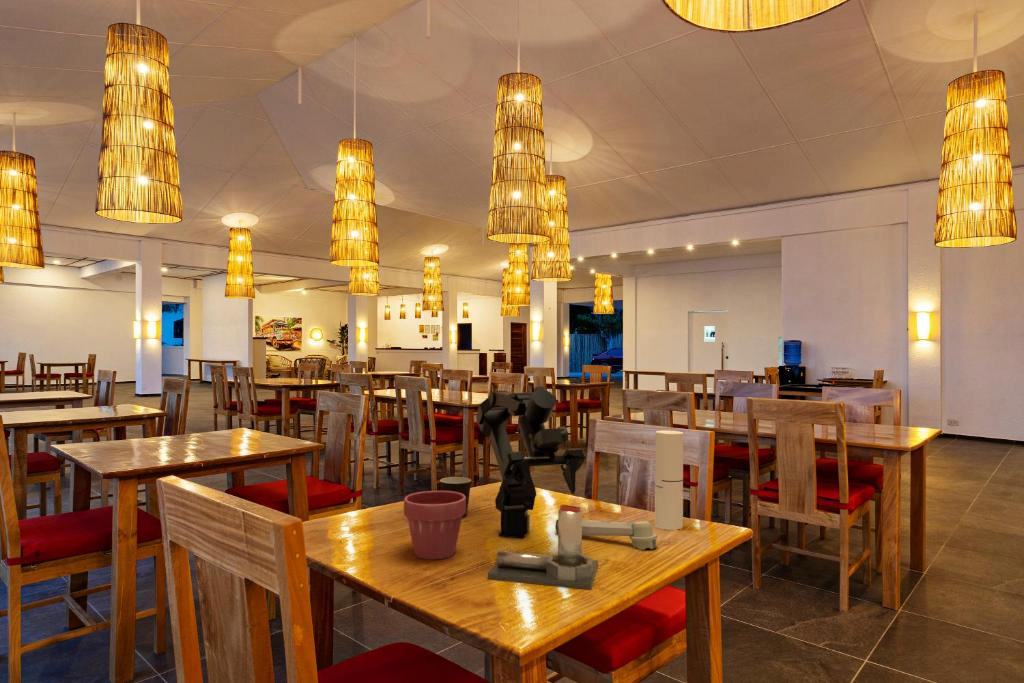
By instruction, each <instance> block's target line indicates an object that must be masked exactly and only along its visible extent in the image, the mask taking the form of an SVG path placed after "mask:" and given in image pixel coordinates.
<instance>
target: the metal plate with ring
mask: <svg viewBox="0 0 1024 683" xmlns="http://www.w3.org/2000/svg"><path fill="white" fill-rule="evenodd" d="M557 561H558V553H554V554H543V553H542V554H539V553H528V552H518V551H516V552H515V551H509V550H508V551H507V550H498V552H497V556H496V562H495V563H494V565H492V566H491V568H490V569H489V571H487V579H488V580H495V581H496V580H497V581H503V582H513V581H514V583H522V582H523V583H522V584H532V583H533V585H541V584H544V585H543V586H552V587H562V588H571V589H572V588H573V589H578V590H579V589H582V590H592V587H593V584H594V581H595V577H596V573H597V570H598V567H599V560H595V559H594V558H593V557H590V556H587V555H586V554H584V553H582V563H583V565H580V566H575V567H574V566H564V565H559V564H557V563H556V562H557Z"/></svg>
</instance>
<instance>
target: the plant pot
mask: <svg viewBox="0 0 1024 683" xmlns="http://www.w3.org/2000/svg"><path fill="white" fill-rule="evenodd" d="M465 513H466V497H465V495H464V494H462V493H458V492H453V491H441V490H426V491H418V492H413V493H410V494H407V495H406V496H404V500H403V515H404V516H405V517H406V518H407V520H408V529H409V532H410V537H411V542H412V547H413V551H414V552H413V553H414V555H415V556H416V557H417V558H420V559H423V560H424V559H425V560H441V559H442V560H443V559H447V558H450V557H452V556H454V555H455V553H456V548H457V543H458V538H459V533H460V530H461V525H462V516H463V515H465Z"/></svg>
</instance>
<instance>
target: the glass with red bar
mask: <svg viewBox="0 0 1024 683" xmlns="http://www.w3.org/2000/svg"><path fill="white" fill-rule="evenodd" d="M557 516H558V517H557V520H558V534H557V554H558V561H557V562H556V563H557V564H559V565H564V566H574V567H575V566H580V565H583V563H582V554H583V552H582V550H583V549H582V546H583V545H582V544H583V543H582V542H583V538H582V537H583V535H582V520H583V510H582V509H581V506H579V507H578V506H574V505H573V506H572V505H567V504H561V505H560V506H559V508H558V515H557Z"/></svg>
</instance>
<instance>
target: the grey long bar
mask: <svg viewBox="0 0 1024 683" xmlns="http://www.w3.org/2000/svg"><path fill="white" fill-rule="evenodd" d="M555 533H556V534H557V535H558V519H556V521H555ZM582 536H593V537H595V536H596V537H597V536H602V537H603V536H604V537H605V536H608V537H610V536H612V537H614V536H615V537H629V540H631V544H632V547H633V548H634V549H638V550H641V551H642V550H646V549H649V550H652V549H655V548H657V539H658V534H656V533H655V532H654V531H653V527H652V524H651V523H650V522H649V521H646V520H639V521H638V520H637V521H635V522H625V521H624V522H623V521H611V520H610V521H607V520H593V519H592V520H591V519H582Z"/></svg>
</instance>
